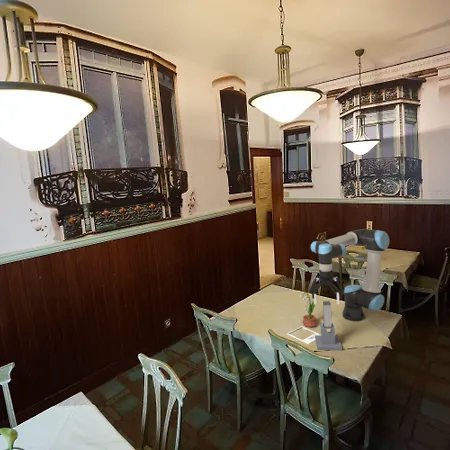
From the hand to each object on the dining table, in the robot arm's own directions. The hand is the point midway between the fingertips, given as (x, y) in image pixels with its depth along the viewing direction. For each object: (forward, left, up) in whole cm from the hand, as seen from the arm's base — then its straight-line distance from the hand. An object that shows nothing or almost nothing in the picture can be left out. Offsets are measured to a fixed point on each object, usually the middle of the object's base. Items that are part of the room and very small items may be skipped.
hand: (326, 303), depth 195 cm
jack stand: (0, 0, -27) cm, 27 cm away
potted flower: (+9, -25, -27) cm, 38 cm away
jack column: (0, 0, -25) cm, 25 cm away
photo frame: (+13, -11, -27) cm, 32 cm away
